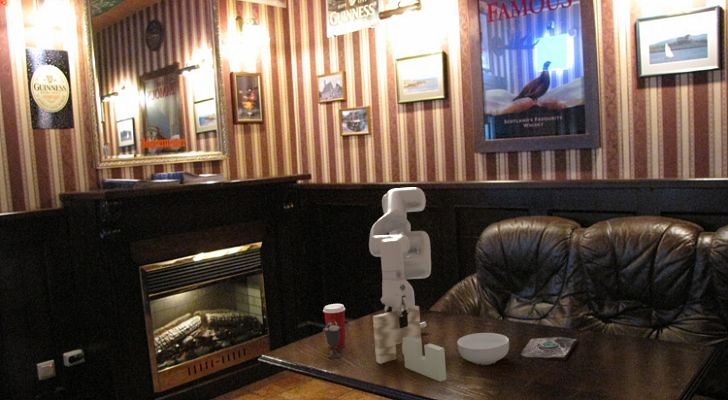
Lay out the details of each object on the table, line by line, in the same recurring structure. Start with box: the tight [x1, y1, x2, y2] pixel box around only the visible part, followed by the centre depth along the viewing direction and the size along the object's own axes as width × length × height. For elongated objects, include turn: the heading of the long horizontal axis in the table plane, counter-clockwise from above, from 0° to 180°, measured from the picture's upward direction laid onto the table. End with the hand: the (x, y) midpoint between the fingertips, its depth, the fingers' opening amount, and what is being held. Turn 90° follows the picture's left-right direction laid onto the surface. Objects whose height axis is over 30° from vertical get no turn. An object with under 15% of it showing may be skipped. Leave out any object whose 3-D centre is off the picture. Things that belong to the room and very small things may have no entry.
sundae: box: [322, 316, 342, 360], centre depth 232 cm, size 7×7×15 cm
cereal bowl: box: [456, 332, 510, 366], centre depth 216 cm, size 17×17×7 cm
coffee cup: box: [322, 303, 346, 349], centre depth 244 cm, size 8×8×15 cm
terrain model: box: [520, 335, 578, 362], centre depth 223 cm, size 20×15×3 cm
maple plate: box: [372, 305, 422, 365], centre depth 227 cm, size 18×2×16 cm, turn 124°
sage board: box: [403, 336, 447, 382], centre depth 209 cm, size 2×18×10 cm, turn 34°
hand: (397, 324), depth 226 cm, fingers open, 7 cm apart
